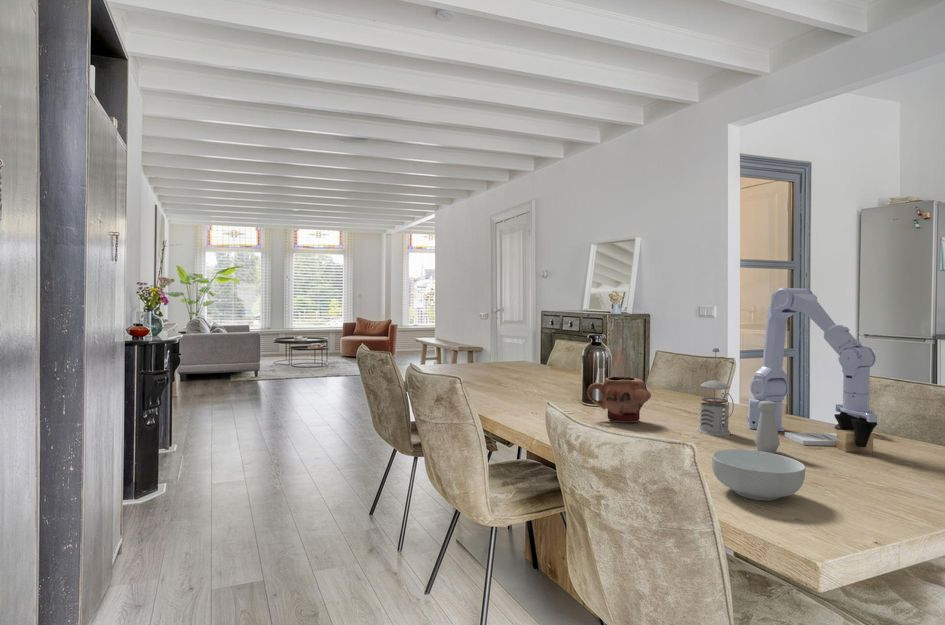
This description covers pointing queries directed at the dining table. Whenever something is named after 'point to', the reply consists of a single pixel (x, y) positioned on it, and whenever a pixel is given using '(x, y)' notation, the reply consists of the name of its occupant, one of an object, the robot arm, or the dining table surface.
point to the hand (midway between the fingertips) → (854, 444)
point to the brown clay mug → (621, 397)
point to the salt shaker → (767, 428)
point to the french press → (714, 409)
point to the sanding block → (851, 442)
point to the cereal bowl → (758, 473)
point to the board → (813, 438)
